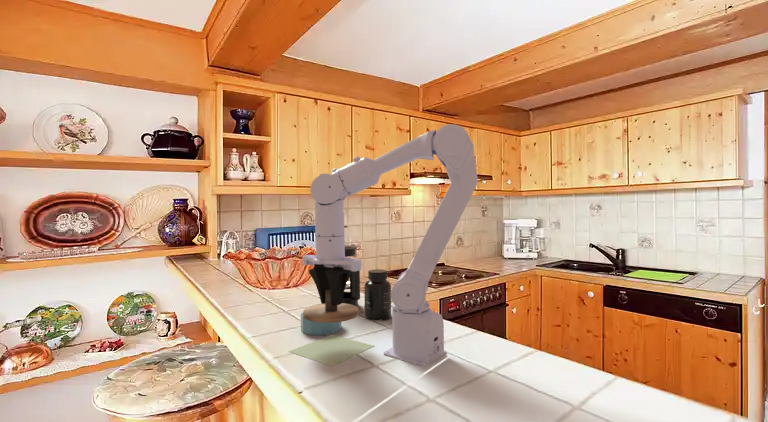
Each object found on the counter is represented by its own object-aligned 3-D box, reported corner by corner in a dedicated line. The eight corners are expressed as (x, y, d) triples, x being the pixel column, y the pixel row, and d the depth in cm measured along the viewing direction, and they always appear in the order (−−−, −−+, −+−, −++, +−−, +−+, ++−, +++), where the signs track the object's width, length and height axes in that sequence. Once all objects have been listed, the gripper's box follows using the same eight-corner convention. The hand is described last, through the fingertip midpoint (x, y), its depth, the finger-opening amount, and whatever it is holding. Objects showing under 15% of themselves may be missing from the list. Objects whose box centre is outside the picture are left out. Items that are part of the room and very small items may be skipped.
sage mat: (374, 347, 79) (374, 345, 79) (332, 367, 69) (332, 366, 69) (332, 335, 86) (332, 334, 86) (288, 352, 77) (288, 351, 77)
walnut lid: (370, 312, 79) (369, 288, 79) (331, 326, 70) (331, 300, 70) (331, 303, 85) (330, 282, 85) (291, 315, 77) (291, 291, 76)
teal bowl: (348, 328, 91) (348, 311, 91) (321, 339, 84) (321, 321, 84) (321, 321, 97) (321, 305, 97) (293, 331, 89) (293, 314, 89)
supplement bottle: (359, 319, 98) (358, 272, 98) (373, 312, 104) (372, 267, 104) (383, 323, 95) (383, 273, 94) (396, 315, 101) (395, 269, 100)
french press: (316, 307, 110) (315, 226, 109) (341, 300, 117) (340, 224, 116) (345, 314, 102) (344, 227, 101) (370, 307, 109) (368, 225, 108)
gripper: (290, 235, 78) (291, 302, 79) (342, 239, 70) (344, 314, 70) (316, 233, 84) (317, 295, 84) (367, 236, 75) (369, 305, 76)
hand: (331, 303), depth 78 cm, fingers closed on walnut lid, 2 cm apart
